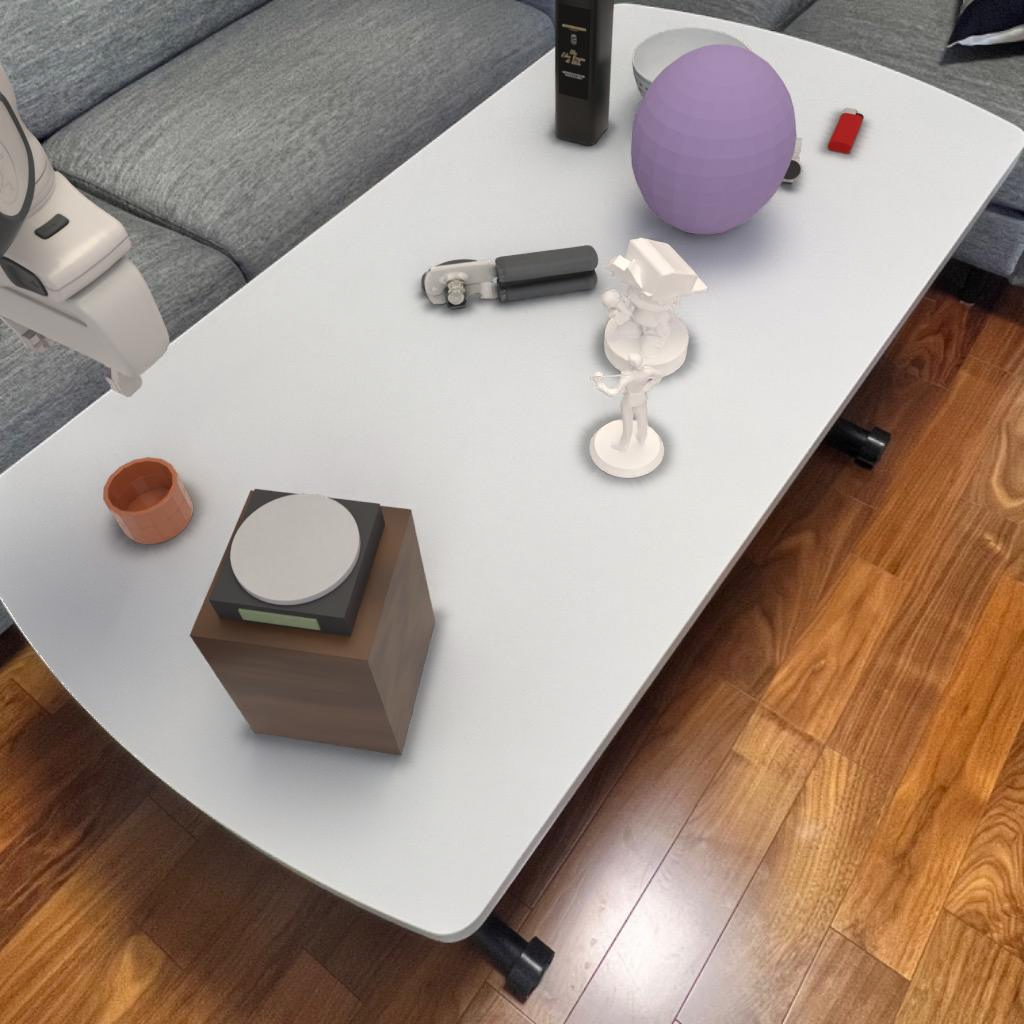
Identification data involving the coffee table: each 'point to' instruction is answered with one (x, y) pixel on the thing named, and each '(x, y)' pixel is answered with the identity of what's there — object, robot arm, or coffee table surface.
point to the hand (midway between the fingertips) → (84, 367)
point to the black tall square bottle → (582, 68)
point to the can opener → (512, 276)
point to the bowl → (148, 500)
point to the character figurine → (648, 306)
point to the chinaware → (672, 50)
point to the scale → (299, 562)
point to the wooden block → (333, 656)
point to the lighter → (846, 131)
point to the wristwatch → (794, 164)
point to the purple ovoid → (713, 139)
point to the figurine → (628, 425)
